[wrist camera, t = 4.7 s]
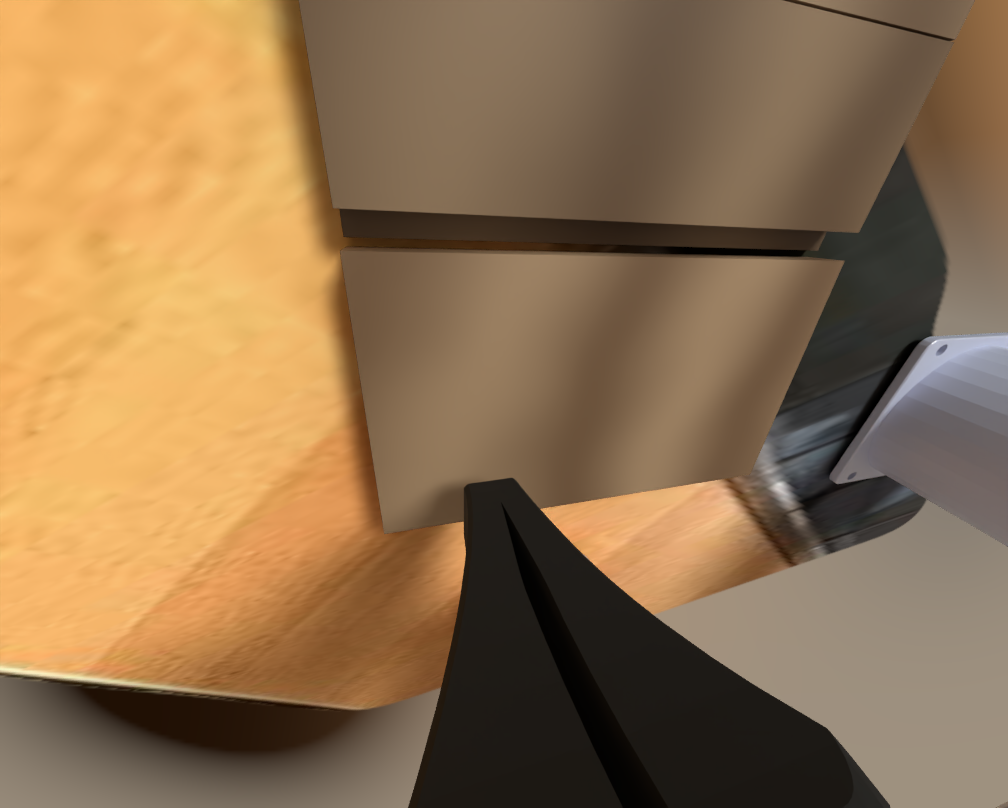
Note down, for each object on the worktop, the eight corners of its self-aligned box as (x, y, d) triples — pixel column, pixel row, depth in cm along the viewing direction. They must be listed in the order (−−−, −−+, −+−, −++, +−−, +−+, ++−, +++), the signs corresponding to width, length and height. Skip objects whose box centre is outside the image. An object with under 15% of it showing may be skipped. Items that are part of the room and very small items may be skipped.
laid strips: (1013, -211, 7) (1112, -275, 6) (808, 249, 12) (847, 255, 11) (209, -646, 4) (146, -931, 3) (345, 235, 8) (338, 242, 7)
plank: (805, 256, 12) (844, 260, 11) (726, 457, 15) (750, 474, 14) (347, 246, 8) (339, 250, 7) (385, 506, 12) (384, 533, 11)
